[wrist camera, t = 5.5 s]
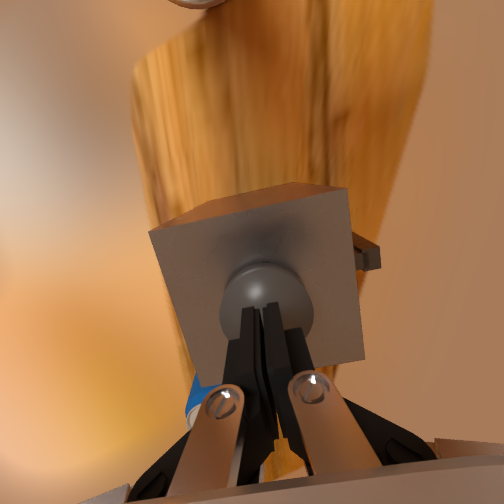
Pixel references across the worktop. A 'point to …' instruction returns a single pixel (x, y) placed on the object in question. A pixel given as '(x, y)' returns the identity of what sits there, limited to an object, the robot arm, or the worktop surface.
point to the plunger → (266, 297)
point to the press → (267, 251)
